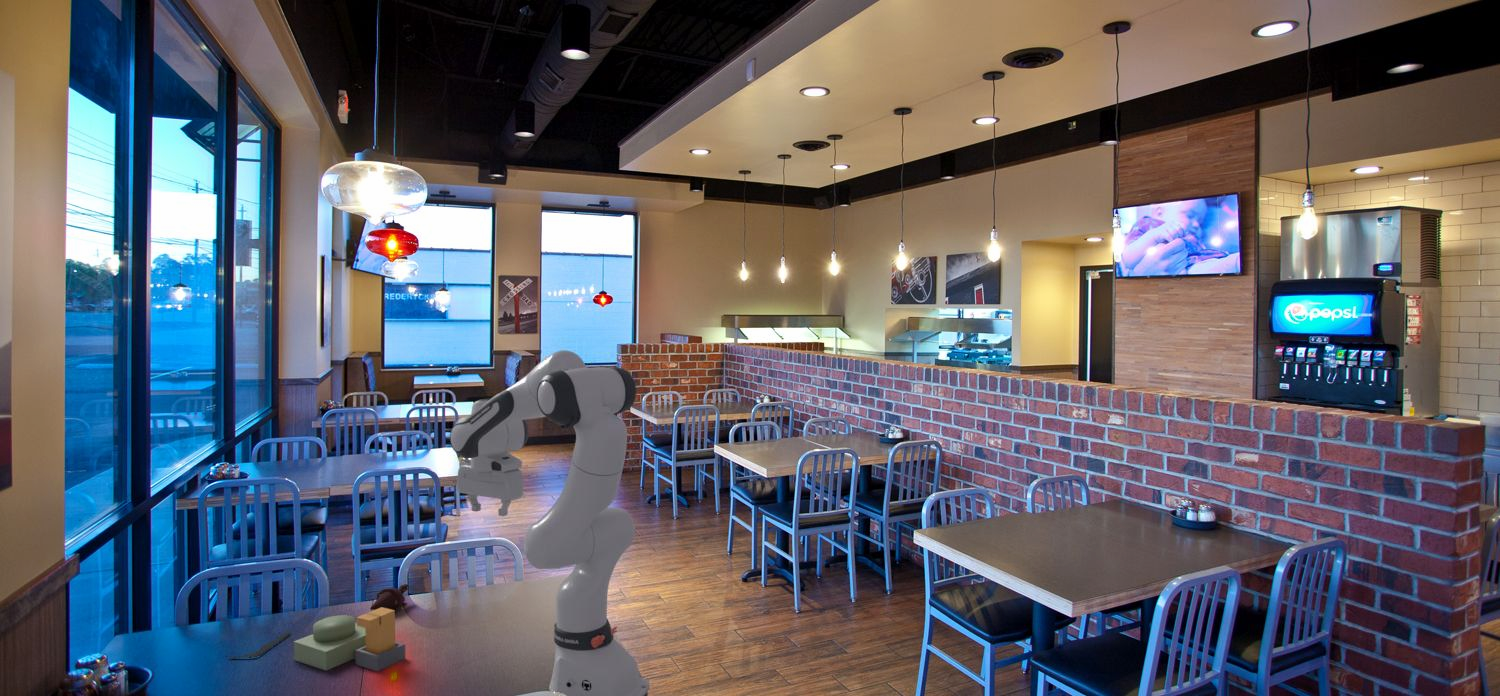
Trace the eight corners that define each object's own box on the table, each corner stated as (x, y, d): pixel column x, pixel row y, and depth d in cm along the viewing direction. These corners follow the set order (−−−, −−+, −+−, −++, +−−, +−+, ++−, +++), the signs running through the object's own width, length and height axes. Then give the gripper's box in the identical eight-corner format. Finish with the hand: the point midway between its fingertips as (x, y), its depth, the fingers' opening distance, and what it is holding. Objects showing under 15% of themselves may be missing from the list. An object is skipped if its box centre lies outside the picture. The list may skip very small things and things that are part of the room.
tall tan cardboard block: (395, 659, 183) (394, 610, 182) (371, 671, 177) (369, 620, 176) (382, 655, 185) (381, 607, 184) (357, 667, 179) (356, 617, 178)
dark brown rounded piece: (386, 600, 203) (420, 585, 218) (362, 591, 205) (398, 577, 220) (379, 625, 203) (413, 609, 218) (355, 616, 205) (391, 600, 220)
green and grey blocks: (409, 656, 185) (409, 625, 184) (356, 681, 172) (356, 648, 172) (348, 637, 195) (347, 608, 195) (294, 659, 182) (293, 629, 182)
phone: (293, 631, 198) (256, 657, 183) (293, 634, 198) (256, 660, 183) (264, 631, 198) (225, 657, 183) (264, 635, 198) (225, 660, 183)
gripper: (450, 458, 199) (451, 511, 200) (508, 466, 190) (509, 521, 191) (469, 454, 205) (469, 505, 206) (527, 461, 196) (527, 515, 196)
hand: (489, 513), depth 198 cm, fingers open, 8 cm apart
